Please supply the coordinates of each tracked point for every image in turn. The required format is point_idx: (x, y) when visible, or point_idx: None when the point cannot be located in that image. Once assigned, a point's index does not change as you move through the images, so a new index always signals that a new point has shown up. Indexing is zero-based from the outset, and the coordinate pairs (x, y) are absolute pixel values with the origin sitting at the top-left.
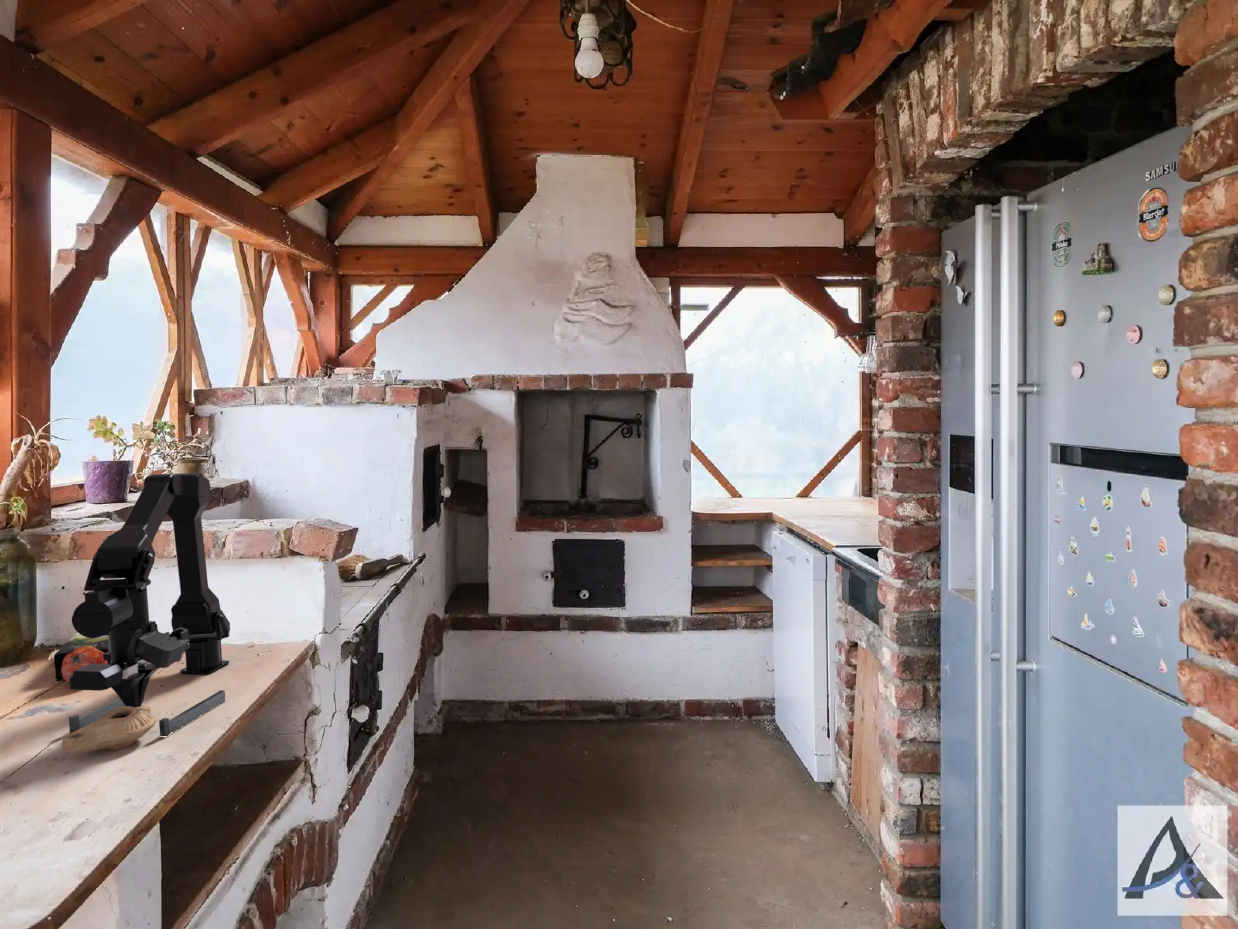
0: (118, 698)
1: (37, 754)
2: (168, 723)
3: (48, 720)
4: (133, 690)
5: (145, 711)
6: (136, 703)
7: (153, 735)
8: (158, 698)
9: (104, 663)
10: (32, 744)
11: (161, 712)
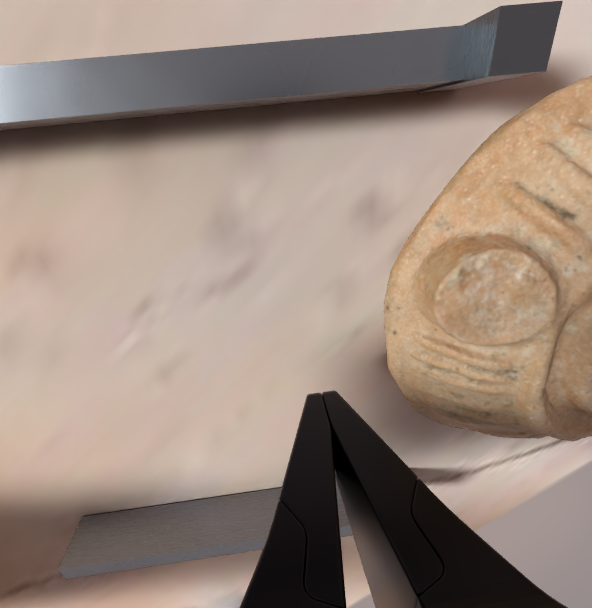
0: (187, 559)
1: (548, 446)
2: (475, 23)
3: None
4: (465, 530)
5: (567, 227)
6: (356, 427)
7: (414, 173)
8: (44, 485)
9: None
10: (471, 502)
11: (151, 369)
